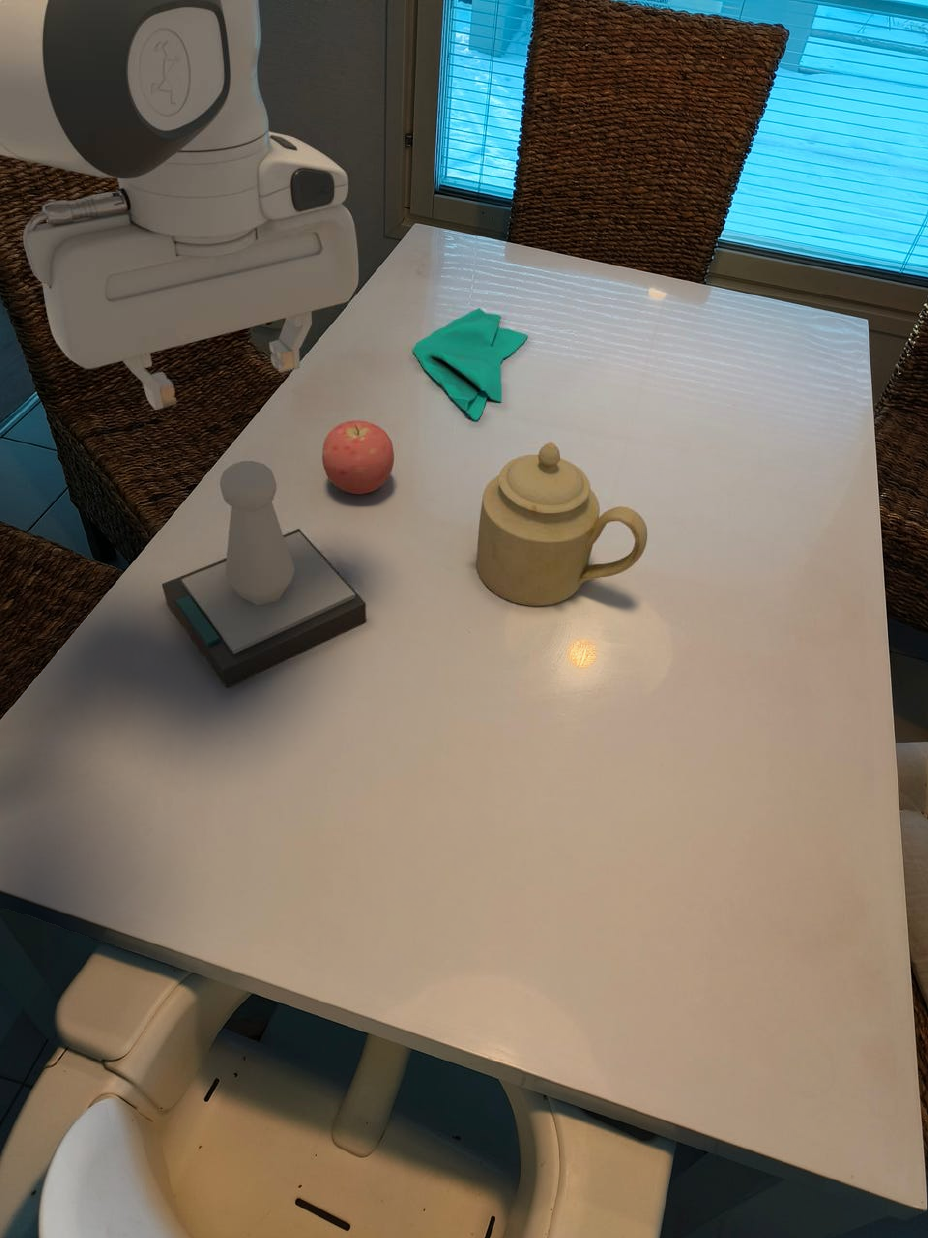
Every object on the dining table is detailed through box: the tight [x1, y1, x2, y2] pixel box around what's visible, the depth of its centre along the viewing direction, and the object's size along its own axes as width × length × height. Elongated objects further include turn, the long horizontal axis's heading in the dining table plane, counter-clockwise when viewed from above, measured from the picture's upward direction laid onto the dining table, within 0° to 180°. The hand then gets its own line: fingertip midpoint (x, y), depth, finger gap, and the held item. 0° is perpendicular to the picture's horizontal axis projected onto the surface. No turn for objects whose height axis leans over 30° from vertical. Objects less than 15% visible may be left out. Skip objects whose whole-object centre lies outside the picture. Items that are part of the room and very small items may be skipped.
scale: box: [161, 528, 367, 689], centre depth 77 cm, size 14×12×3 cm
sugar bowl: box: [475, 441, 648, 607], centre depth 79 cm, size 15×11×15 cm
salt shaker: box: [219, 460, 294, 606], centre depth 71 cm, size 6×6×13 cm
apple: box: [321, 419, 395, 495], centre depth 89 cm, size 7×7×8 cm
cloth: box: [412, 307, 529, 421], centre depth 110 cm, size 26×14×2 cm, turn 164°
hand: (226, 384), depth 60 cm, fingers open, 8 cm apart
